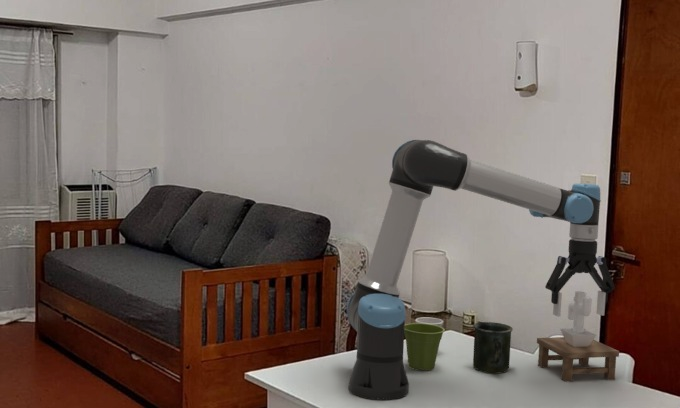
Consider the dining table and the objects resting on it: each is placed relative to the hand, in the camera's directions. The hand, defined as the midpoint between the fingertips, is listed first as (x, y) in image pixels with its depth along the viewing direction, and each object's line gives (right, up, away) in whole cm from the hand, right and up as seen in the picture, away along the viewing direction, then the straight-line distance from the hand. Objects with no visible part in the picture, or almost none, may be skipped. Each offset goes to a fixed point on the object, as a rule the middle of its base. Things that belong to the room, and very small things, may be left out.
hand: (578, 315), depth 212 cm
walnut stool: (-1, -16, +1) cm, 16 cm away
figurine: (0, -9, 0) cm, 9 cm away
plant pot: (-44, -15, +1) cm, 46 cm away
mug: (-24, -16, +1) cm, 29 cm away
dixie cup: (-40, -14, +16) cm, 45 cm away
